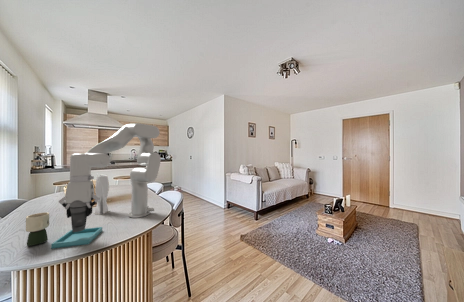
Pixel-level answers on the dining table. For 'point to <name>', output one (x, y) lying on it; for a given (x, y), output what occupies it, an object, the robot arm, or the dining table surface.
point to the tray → (77, 238)
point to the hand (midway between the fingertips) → (79, 215)
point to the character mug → (37, 228)
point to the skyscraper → (102, 194)
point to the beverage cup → (78, 215)
